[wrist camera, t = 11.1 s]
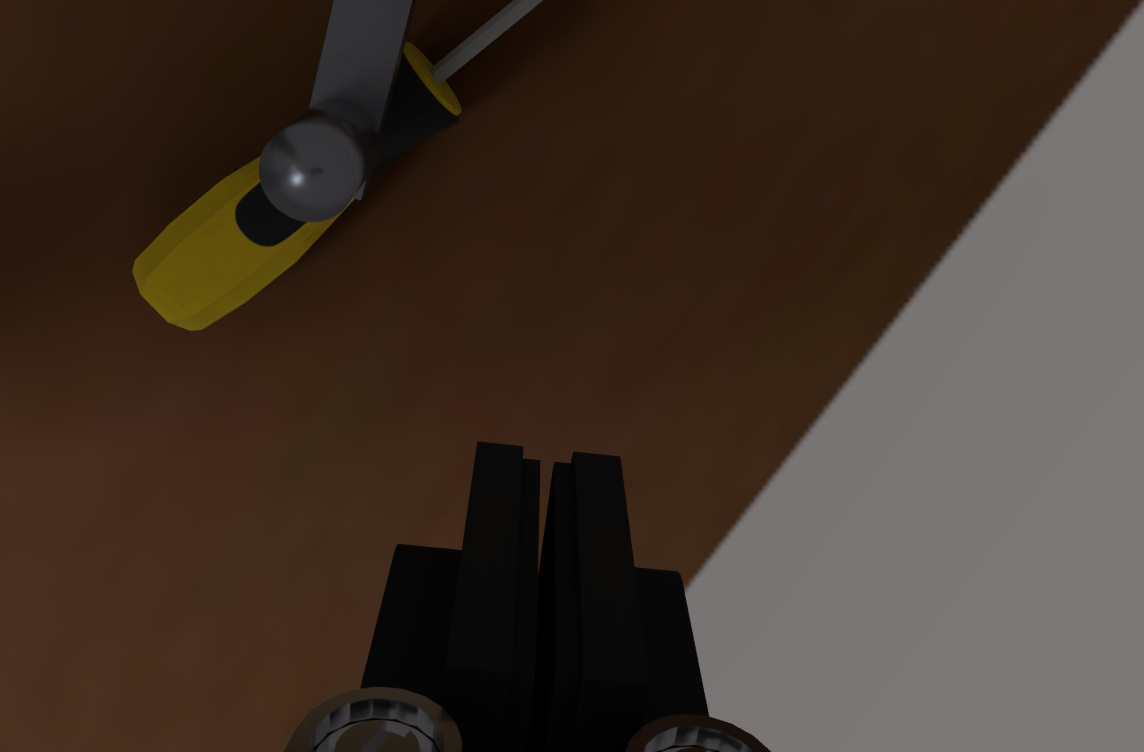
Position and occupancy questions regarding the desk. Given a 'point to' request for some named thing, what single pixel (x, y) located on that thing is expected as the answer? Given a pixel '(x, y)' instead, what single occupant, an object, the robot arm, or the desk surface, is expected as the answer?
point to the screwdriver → (266, 235)
